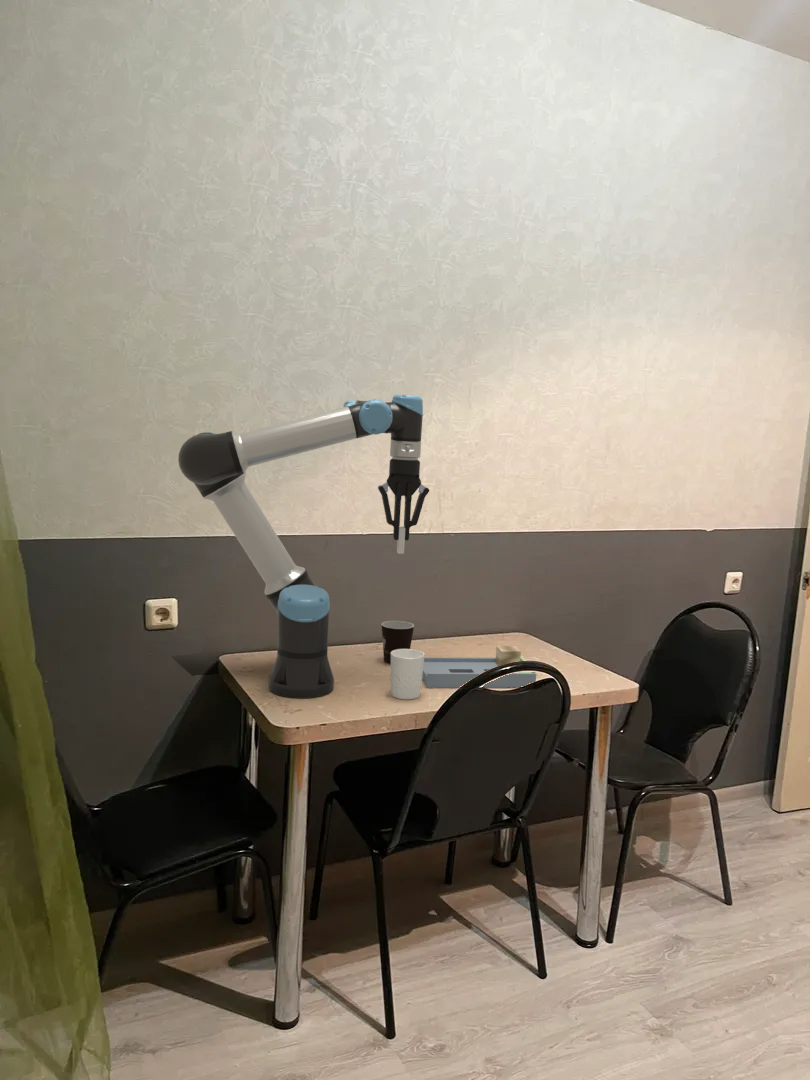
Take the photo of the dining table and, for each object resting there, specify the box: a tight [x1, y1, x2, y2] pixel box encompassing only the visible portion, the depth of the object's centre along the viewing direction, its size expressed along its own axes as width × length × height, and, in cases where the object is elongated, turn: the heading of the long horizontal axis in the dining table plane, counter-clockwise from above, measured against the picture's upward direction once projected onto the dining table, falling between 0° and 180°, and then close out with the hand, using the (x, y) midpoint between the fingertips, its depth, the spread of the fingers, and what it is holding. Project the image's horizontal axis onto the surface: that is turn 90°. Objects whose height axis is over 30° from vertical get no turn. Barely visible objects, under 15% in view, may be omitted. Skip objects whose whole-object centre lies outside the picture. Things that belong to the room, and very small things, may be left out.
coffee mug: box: [381, 620, 415, 665], centre depth 215 cm, size 12×9×10 cm
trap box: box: [422, 654, 537, 689], centre depth 203 cm, size 27×14×4 cm, turn 99°
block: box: [495, 645, 522, 666], centre depth 207 cm, size 5×5×4 cm
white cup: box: [390, 648, 426, 700], centre depth 188 cm, size 8×8×10 cm
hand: (400, 552), depth 203 cm, fingers closed
